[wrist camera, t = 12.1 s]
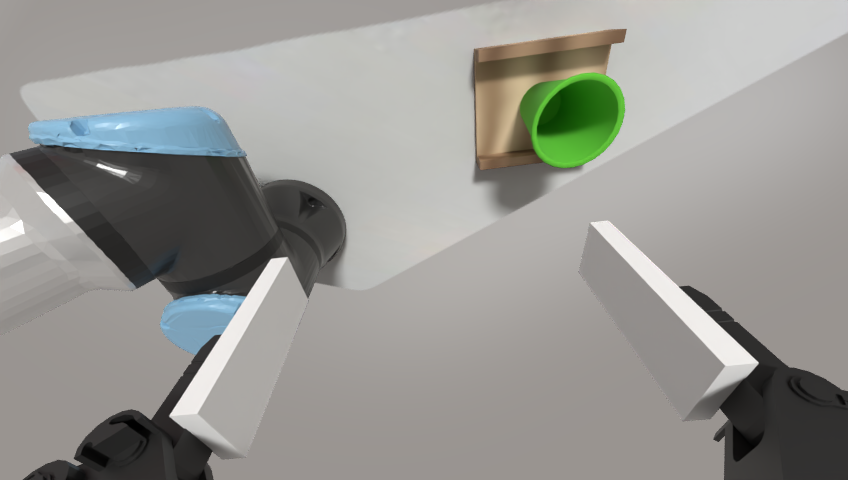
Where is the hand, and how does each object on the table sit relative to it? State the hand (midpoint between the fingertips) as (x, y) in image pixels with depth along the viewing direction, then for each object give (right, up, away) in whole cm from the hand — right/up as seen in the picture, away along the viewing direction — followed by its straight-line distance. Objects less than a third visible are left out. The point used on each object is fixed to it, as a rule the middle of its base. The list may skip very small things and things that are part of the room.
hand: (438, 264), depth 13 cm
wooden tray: (+14, +19, +26) cm, 35 cm away
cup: (+14, +19, +25) cm, 35 cm away
